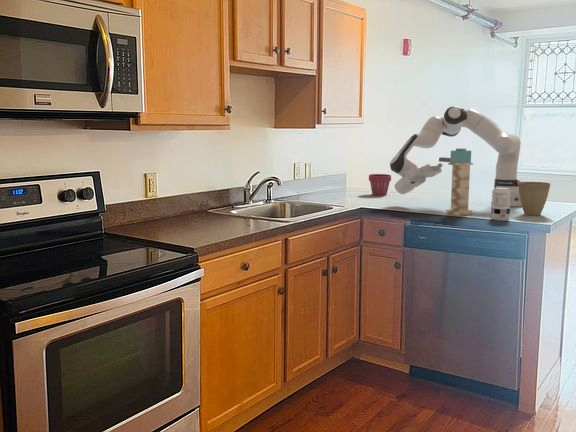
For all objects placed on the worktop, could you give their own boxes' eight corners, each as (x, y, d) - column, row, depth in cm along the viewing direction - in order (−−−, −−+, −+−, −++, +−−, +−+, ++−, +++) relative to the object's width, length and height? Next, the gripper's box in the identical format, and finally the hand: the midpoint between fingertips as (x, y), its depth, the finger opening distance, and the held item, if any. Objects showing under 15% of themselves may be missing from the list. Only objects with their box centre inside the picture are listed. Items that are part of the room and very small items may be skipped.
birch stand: (446, 213, 296) (448, 162, 292) (457, 212, 302) (459, 161, 297) (460, 216, 289) (462, 163, 285) (472, 214, 294) (474, 162, 290)
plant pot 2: (553, 214, 293) (555, 182, 290) (540, 217, 283) (542, 185, 280) (524, 211, 304) (526, 180, 301) (510, 214, 293) (512, 182, 291)
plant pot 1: (394, 195, 368) (395, 175, 366) (374, 196, 364) (374, 176, 362) (384, 193, 382) (385, 173, 380) (364, 193, 378) (365, 174, 376)
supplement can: (487, 218, 282) (489, 187, 280) (501, 217, 285) (502, 186, 282) (498, 221, 275) (500, 189, 272) (513, 220, 277) (514, 188, 275)
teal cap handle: (436, 161, 300) (436, 147, 299) (445, 161, 304) (445, 147, 302) (461, 163, 287) (462, 149, 286) (470, 162, 291) (471, 148, 290)
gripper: (432, 180, 320) (450, 169, 309) (406, 183, 308) (424, 171, 298) (428, 170, 322) (446, 158, 311) (402, 172, 310) (419, 160, 300)
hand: (435, 165), depth 304 cm, fingers open, 8 cm apart
